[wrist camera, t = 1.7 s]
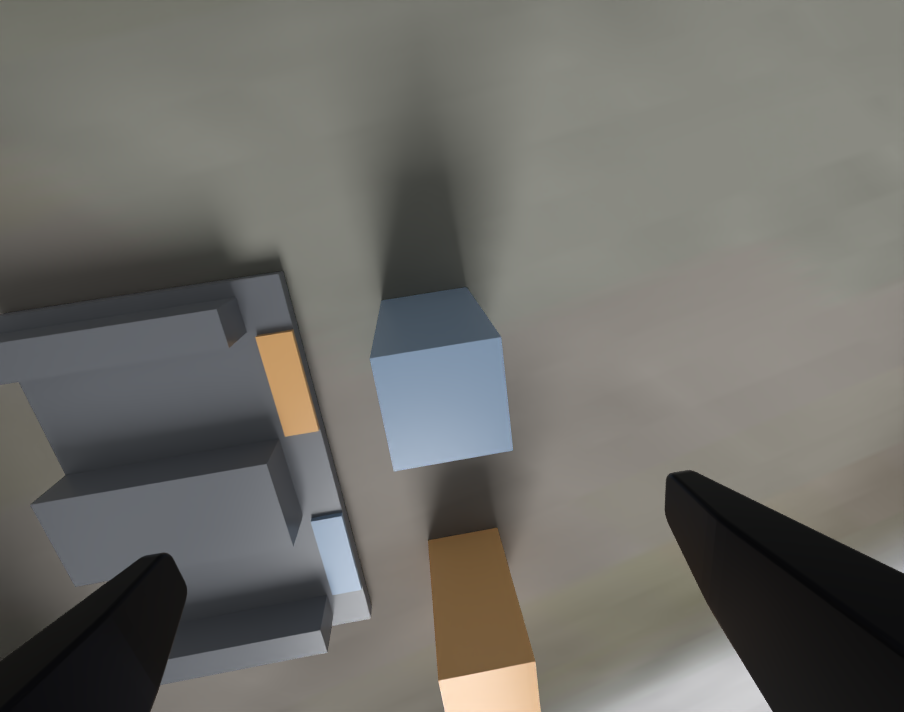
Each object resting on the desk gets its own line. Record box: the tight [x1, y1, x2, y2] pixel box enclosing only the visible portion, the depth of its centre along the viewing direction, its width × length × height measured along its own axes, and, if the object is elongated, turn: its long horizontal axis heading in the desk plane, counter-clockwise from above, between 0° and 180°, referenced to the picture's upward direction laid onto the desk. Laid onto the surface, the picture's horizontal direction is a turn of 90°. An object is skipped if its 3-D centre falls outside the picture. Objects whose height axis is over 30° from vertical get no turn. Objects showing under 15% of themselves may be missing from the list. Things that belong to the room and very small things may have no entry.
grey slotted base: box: [0, 271, 372, 685], centre depth 22 cm, size 20×12×3 cm, turn 8°
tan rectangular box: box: [428, 528, 541, 712], centre depth 23 cm, size 4×4×8 cm
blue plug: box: [370, 287, 513, 471], centre depth 18 cm, size 4×4×8 cm
